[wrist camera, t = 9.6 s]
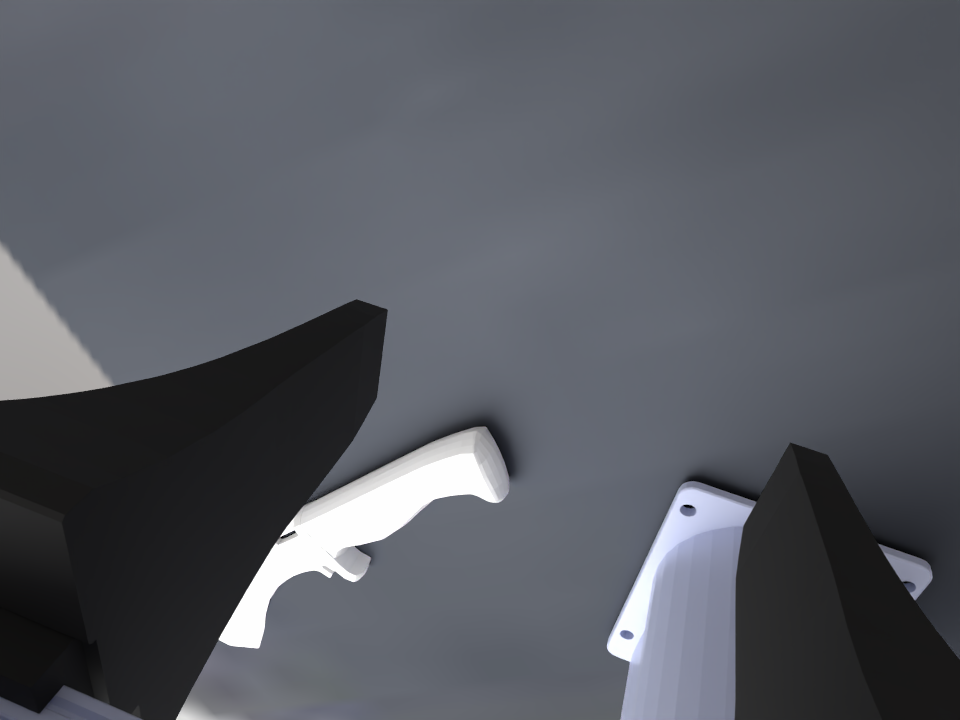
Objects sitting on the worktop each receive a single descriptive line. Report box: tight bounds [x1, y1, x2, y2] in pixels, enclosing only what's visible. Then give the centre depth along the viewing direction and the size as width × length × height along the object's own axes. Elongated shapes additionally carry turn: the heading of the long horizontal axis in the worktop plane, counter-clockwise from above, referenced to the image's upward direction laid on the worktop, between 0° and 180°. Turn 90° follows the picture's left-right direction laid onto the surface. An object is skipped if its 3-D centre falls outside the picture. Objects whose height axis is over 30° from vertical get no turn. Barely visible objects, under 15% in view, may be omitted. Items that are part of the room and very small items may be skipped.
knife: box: [219, 427, 509, 648], centre depth 35 cm, size 30×2×8 cm
